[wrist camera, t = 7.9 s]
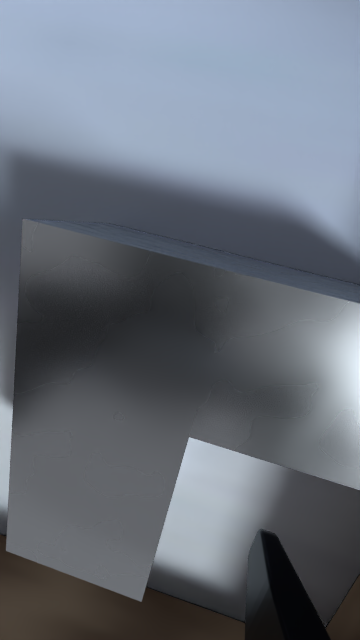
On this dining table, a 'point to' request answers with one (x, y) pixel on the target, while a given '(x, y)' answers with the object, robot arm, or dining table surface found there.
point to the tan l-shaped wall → (118, 610)
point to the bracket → (163, 386)
